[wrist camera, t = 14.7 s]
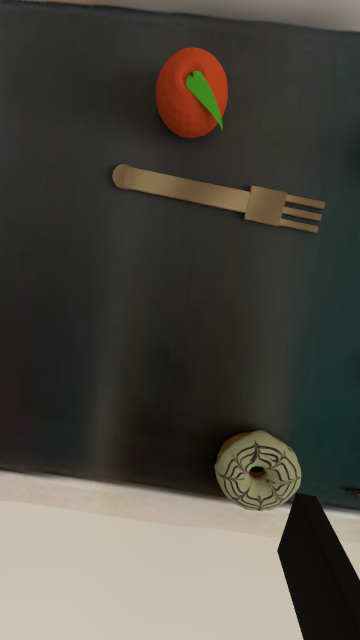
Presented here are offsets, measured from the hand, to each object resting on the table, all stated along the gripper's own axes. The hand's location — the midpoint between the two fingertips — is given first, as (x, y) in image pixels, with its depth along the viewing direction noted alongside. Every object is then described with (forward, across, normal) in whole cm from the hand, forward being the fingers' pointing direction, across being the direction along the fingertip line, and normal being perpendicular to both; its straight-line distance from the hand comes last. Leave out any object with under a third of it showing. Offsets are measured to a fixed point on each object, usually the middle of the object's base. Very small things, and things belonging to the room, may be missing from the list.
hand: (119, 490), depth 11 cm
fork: (+27, -3, -16) cm, 31 cm away
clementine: (+27, +1, -23) cm, 36 cm away
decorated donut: (+27, -15, +16) cm, 35 cm away
